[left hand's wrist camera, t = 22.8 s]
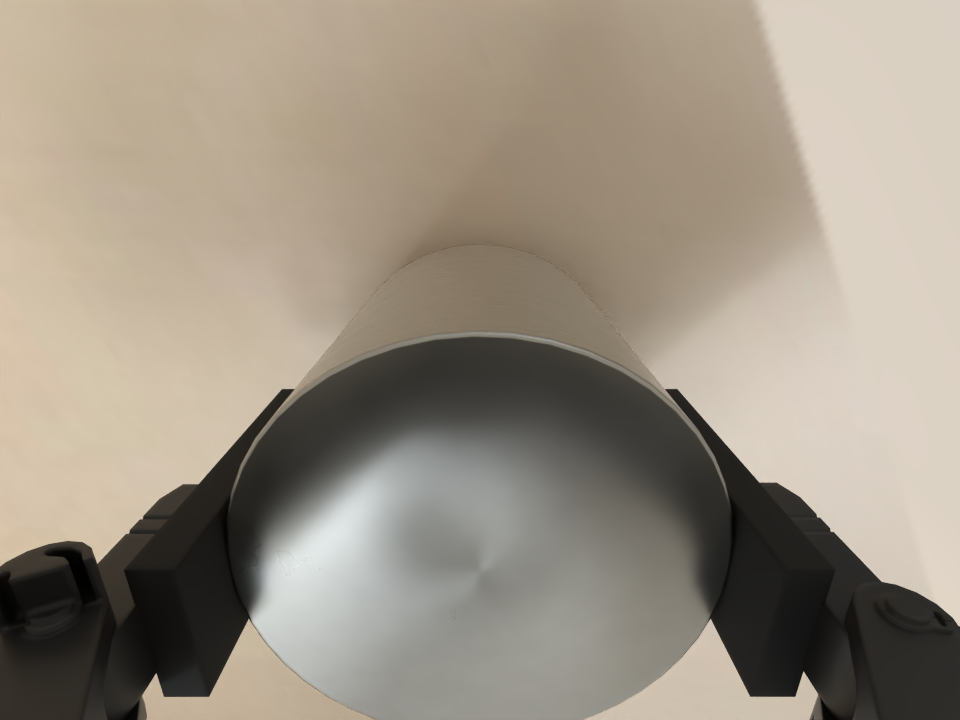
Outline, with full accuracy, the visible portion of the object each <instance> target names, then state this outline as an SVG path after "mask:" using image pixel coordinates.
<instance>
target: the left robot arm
mask: <svg viewBox="0 0 960 720" xmlns="http://www.w3.org/2000/svg"><path fill="white" fill-rule="evenodd" d="M294 390H295V389H282V390H281V391H280V392H279V393H278V395H277V396H276V397H275V398H274V399H273V400H272V401H271V403H270V404H269V405H268V406H267V407H266V408H265V409H264V411H263V412H262V413H261V414H260V415H259V416H258V417H257V418H256V420H255V421H254V422H253V423H252V424H251V425H250V426H249V428H248V429H247V430H246V431H245V432H244V433H243V434H242V436H241V437H240V438H239V439H238V440H237V441H236V442H235V444H234V445H233V446H232V447H231V448H230V449H229V450H228V452H227V453H226V454H225V455H224V456H223V457H222V458H221V460H220V461H219V462H218V463H217V464H216V465H215V466H214V468H213V469H212V470H211V471H210V472H209V473H208V474H207V475H206V477H205V478H204V479H203V480H202V481H201V482H200V483H199V484H183V485H181V486H180V487H178V488H177V489H175V490H173V491H172V492H170V493H169V494H167V495H165V496H164V497H162V498H161V499H159V500H158V501H157V502H156V503H155V504H154V505H153V507H152V508H151V509H150V510H149V511H148V512H147V513H146V514H145V515H144V516H143V520H139V521H138V522H137V523H136V524H135V525H134V526H133V527H132V528H131V530H130V533H129V534H126V535H125V536H124V537H123V538H122V539H121V540H120V541H119V542H118V543H117V544H116V545H115V546H114V547H113V548H112V549H111V550H110V552H109V553H108V554H107V555H106V556H105V557H104V558H103V559H102V560H101V561H100V562H99V563H98V564H97V562H96V560H95V557H94V554H93V551H92V548H91V547H89V546H88V545H86V544H85V543H83V542H72V541H66V542H59V543H53V544H48V545H45V546H42V547H39V548H36V549H33V550H30V551H27V552H25V553H23V554H21V555H19V556H17V557H15V558H14V559H12V560H10V561H8V562H6V563H4V564H3V565H2V566H0V720H146V717H147V714H146V708H145V703H144V700H143V697H142V695H143V693H144V691H145V690H146V688H147V687H148V685H149V683H150V682H151V680H152V679H153V677H154V676H155V674H156V673H157V676H158V679H159V682H160V685H161V688H162V692H163V695H164V697H209V696H210V694H211V692H212V690H213V688H214V686H215V684H216V682H217V680H218V678H219V676H220V674H221V672H222V670H223V668H224V666H225V664H226V662H227V660H228V658H229V656H230V654H231V652H232V650H233V648H234V647H235V645H236V643H237V641H238V639H239V637H240V635H241V633H242V631H243V629H244V627H245V625H246V623H247V621H248V619H249V617H248V615H247V613H246V611H245V609H244V607H243V605H242V603H241V601H240V599H239V597H238V594H237V591H236V588H235V585H234V582H233V579H232V576H231V571H230V565H229V559H228V553H227V516H228V510H229V504H230V498H231V492H232V489H233V486H234V483H235V480H236V478H237V475H238V472H239V469H240V466H241V464H242V462H243V460H244V458H245V456H246V455H247V453H248V451H249V449H250V447H251V445H252V444H253V442H254V440H255V438H256V437H257V436H258V434H259V433H260V432H261V430H262V429H263V428H264V427H265V425H266V424H267V423H268V421H269V420H270V419H271V418H272V416H273V415H274V414H275V412H276V411H277V410H278V409H279V408H280V406H281V405H282V404H283V403H284V402H285V400H286V399H287V398H288V397H289V396H290V394H291V393H292V392H293V391H294ZM665 390H666V392H667V393H668V394H669V395H670V396H671V398H672V399H673V400H674V401H675V402H676V404H677V405H678V406H679V407H680V409H681V410H682V411H683V412H684V413H685V415H686V416H687V417H688V418H689V419H690V421H691V422H692V423H693V424H694V426H695V427H696V428H697V429H698V430H699V432H700V434H701V435H702V437H703V439H704V440H705V442H706V443H707V445H708V447H709V448H710V450H711V452H712V453H713V455H714V457H715V459H716V461H717V464H718V466H719V469H720V471H721V474H722V476H723V478H724V481H725V484H726V488H727V492H728V497H729V501H730V506H731V510H732V528H733V546H732V555H731V564H730V569H729V572H728V576H727V580H726V583H725V587H724V590H723V593H722V595H721V598H720V600H719V602H718V604H717V606H716V609H715V611H714V613H713V615H712V617H711V620H712V622H713V624H714V626H715V628H716V630H717V632H718V634H719V636H720V638H721V640H722V642H723V644H724V646H725V648H726V650H727V652H728V654H729V655H730V657H731V659H732V661H733V663H734V665H735V667H736V669H737V671H738V673H739V675H740V677H741V679H742V681H743V683H744V685H745V687H746V689H747V691H748V693H749V695H750V697H795V696H796V693H797V689H798V686H799V683H800V680H801V677H802V674H803V671H804V672H805V674H806V675H807V677H808V679H809V680H810V682H811V683H812V685H813V686H814V688H815V690H816V691H817V693H818V697H817V700H816V703H815V706H814V709H813V712H812V715H811V718H810V720H960V627H959V626H958V625H957V623H956V622H955V621H954V619H953V618H952V617H951V616H950V615H949V614H947V613H946V612H945V611H944V610H943V609H942V608H940V607H939V606H938V605H937V604H935V603H934V602H932V601H930V600H928V599H927V598H925V597H923V596H922V595H920V594H918V593H916V592H914V591H911V590H908V589H906V588H903V587H901V586H898V585H895V584H889V583H883V582H881V581H880V580H879V579H878V578H877V577H876V576H875V575H874V574H873V573H872V572H871V570H870V569H869V568H868V567H867V566H866V565H865V564H864V563H863V562H862V561H861V560H860V559H859V558H858V557H857V556H856V555H855V554H854V553H853V552H852V551H851V550H850V549H849V548H848V547H847V546H846V544H845V543H844V542H843V541H842V540H841V539H840V538H839V537H838V536H837V535H836V534H835V533H834V532H831V531H830V528H829V527H828V526H827V525H826V524H825V523H824V522H823V521H822V519H821V518H817V516H816V513H815V512H814V511H813V510H812V509H811V508H810V507H809V506H808V505H807V504H806V503H805V502H804V501H803V500H802V499H801V498H800V497H799V496H797V495H796V494H794V493H792V492H791V491H789V490H788V489H786V488H784V487H783V486H781V485H779V484H778V483H759V482H758V481H757V480H756V478H755V477H754V476H753V475H752V474H751V473H750V472H749V470H748V469H747V468H746V467H745V466H744V465H743V464H742V462H741V461H740V460H739V459H738V458H737V457H736V456H735V454H734V453H733V452H732V451H731V450H730V449H729V448H728V447H727V445H726V444H725V443H724V442H723V441H722V440H721V439H720V437H719V436H718V435H717V434H716V433H715V432H714V431H713V429H712V428H711V427H710V426H709V425H708V424H707V423H706V421H705V420H704V419H703V418H702V417H701V416H700V415H699V413H698V412H697V411H696V410H695V409H694V408H693V407H692V405H691V404H690V403H689V402H688V401H687V400H686V399H685V397H684V396H683V395H682V394H681V393H680V392H679V391H678V389H665Z"/></svg>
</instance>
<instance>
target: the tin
mask: <svg viewBox="0 0 960 720" xmlns="http://www.w3.org/2000/svg"><path fill="white" fill-rule="evenodd" d="M732 546H733V528H732V510H731V506H730V501H729V497H728V492H727V488H726V484H725V481H724V478H723V476H722V474H721V471H720V469H719V466H718V464H717V461H716V459H715V457H714V455H713V453H712V452H711V450H710V448H709V447H708V445H707V443H706V442H705V440H704V439H703V437H702V435H701V434H700V432H699V430H698V429H697V428H696V427H695V426H694V424H693V423H692V422H691V421H690V419H689V418H688V417H687V416H686V415H685V413H684V412H683V411H682V410H681V409H680V407H679V406H678V405H677V404H676V402H675V401H674V400H673V399H672V398H671V396H670V395H669V394H668V393H667V392H666V390H665V389H664V388H663V387H662V385H661V384H660V383H659V382H658V381H657V379H656V378H655V377H654V376H653V374H652V373H651V372H650V371H649V370H648V368H647V367H646V366H645V365H644V364H643V362H642V361H641V360H640V359H639V357H638V356H637V355H636V354H635V353H634V351H633V350H632V349H631V348H630V347H629V345H628V344H627V343H626V342H625V340H624V339H623V338H622V337H621V336H620V334H619V333H618V332H617V331H616V330H615V328H614V327H613V326H612V325H611V323H610V322H609V321H608V320H607V319H606V317H605V316H604V315H603V314H602V313H601V311H600V310H599V309H598V308H597V306H596V305H595V304H594V303H593V302H592V300H591V299H590V298H589V297H588V296H587V294H586V293H585V292H584V291H583V290H582V289H581V287H580V286H579V285H578V284H577V283H576V282H575V281H574V280H572V279H571V278H570V277H569V276H568V275H567V274H566V273H564V272H563V271H561V270H560V269H558V268H557V267H555V266H554V265H552V264H551V263H549V262H547V261H545V260H543V259H541V258H539V257H537V256H535V255H533V254H530V253H527V252H524V251H520V250H517V249H514V248H508V247H503V246H497V245H480V244H475V245H464V246H456V247H451V248H447V249H443V250H439V251H436V252H433V253H431V254H428V255H425V256H422V257H420V258H419V259H417V260H415V261H413V262H411V263H409V264H407V265H406V266H404V267H403V268H401V269H400V270H399V271H397V272H396V273H394V274H393V275H392V276H391V277H389V278H388V279H387V280H386V281H385V282H384V283H383V284H382V285H381V286H380V287H379V288H378V289H377V290H376V292H375V293H374V294H373V295H372V296H371V298H370V299H369V300H368V301H367V303H366V304H365V305H364V306H363V307H362V309H361V310H360V311H359V312H358V313H357V315H356V316H355V317H354V318H353V319H352V321H351V322H350V323H349V324H348V325H347V327H346V328H345V329H344V330H343V332H342V333H341V334H340V335H339V336H338V338H337V339H336V340H335V341H334V342H333V344H332V345H331V346H330V347H329V348H328V350H327V351H326V352H325V353H324V354H323V356H322V357H321V358H320V359H319V361H318V362H317V363H316V364H315V365H314V367H313V368H312V369H311V370H310V371H309V373H308V374H307V375H306V376H305V377H304V379H303V380H302V381H301V382H300V383H299V385H298V386H297V387H296V388H295V390H294V391H293V392H292V393H291V394H290V396H289V397H288V398H287V399H286V400H285V402H284V403H283V404H282V405H281V406H280V408H279V409H278V410H277V411H276V412H275V414H274V415H273V416H272V418H271V419H270V420H269V421H268V423H267V424H266V425H265V427H264V428H263V429H262V430H261V432H260V433H259V434H258V436H257V437H256V438H255V440H254V442H253V444H252V445H251V447H250V449H249V451H248V453H247V455H246V456H245V458H244V460H243V462H242V464H241V466H240V469H239V472H238V475H237V478H236V480H235V483H234V486H233V489H232V492H231V498H230V504H229V510H228V516H227V553H228V559H229V565H230V571H231V576H232V579H233V582H234V585H235V588H236V591H237V594H238V597H239V599H240V601H241V603H242V605H243V607H244V609H245V611H246V613H247V615H248V617H249V619H250V621H251V623H252V624H253V626H254V627H255V629H256V630H257V631H258V633H259V634H260V636H261V637H262V639H263V640H264V642H265V643H266V644H267V645H268V647H269V648H270V649H271V650H272V651H273V652H274V653H275V654H276V655H277V656H278V657H279V659H280V660H281V661H282V662H283V663H284V664H285V665H286V666H287V667H289V668H290V669H291V670H292V671H293V672H294V673H296V674H297V675H298V676H299V677H300V678H301V679H303V680H304V681H305V682H307V683H308V684H309V685H311V686H312V687H314V688H315V689H317V690H318V691H320V692H321V693H323V694H324V695H326V696H327V697H329V698H331V699H333V700H335V701H336V702H338V703H340V704H342V705H344V706H346V707H348V708H349V709H352V710H354V711H356V712H359V713H361V714H364V715H366V716H368V717H371V718H373V719H376V720H583V719H586V718H589V717H592V716H594V715H596V714H599V713H601V712H603V711H605V710H607V709H610V708H612V707H614V706H616V705H618V704H620V703H622V702H623V701H625V700H627V699H629V698H630V697H632V696H634V695H635V694H637V693H639V692H641V691H642V690H643V689H645V688H646V687H647V686H649V685H650V684H651V683H653V682H654V681H656V680H657V679H658V678H660V677H661V676H662V675H663V674H664V673H665V672H667V671H668V670H669V669H670V668H671V667H672V666H673V665H674V664H675V663H676V662H677V661H678V660H679V659H681V658H682V656H683V655H684V654H685V653H686V652H687V650H688V649H689V648H690V647H691V646H692V645H693V643H694V642H695V641H696V640H697V639H698V637H699V636H700V634H701V633H702V631H703V629H704V628H705V626H706V625H707V623H708V622H709V620H710V618H711V617H712V615H713V613H714V611H715V609H716V606H717V604H718V602H719V600H720V598H721V595H722V593H723V590H724V587H725V583H726V580H727V576H728V572H729V569H730V564H731V555H732Z"/></svg>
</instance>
